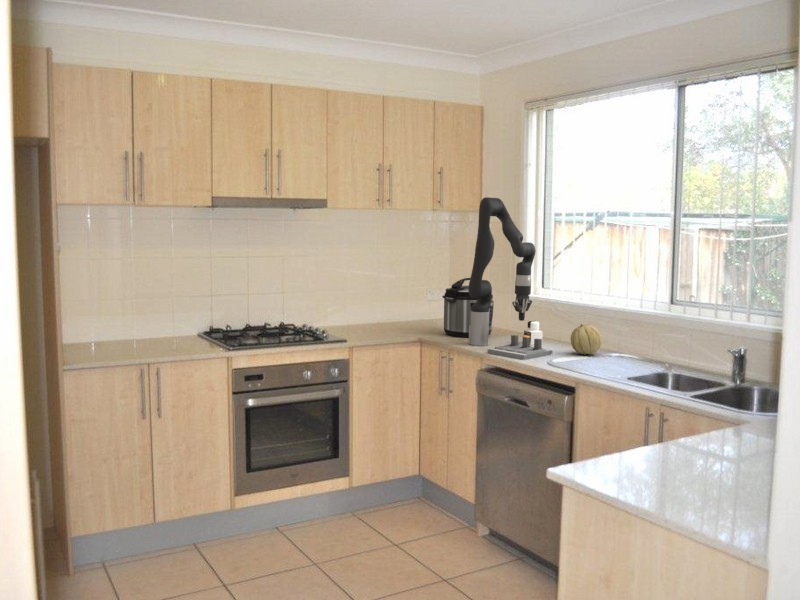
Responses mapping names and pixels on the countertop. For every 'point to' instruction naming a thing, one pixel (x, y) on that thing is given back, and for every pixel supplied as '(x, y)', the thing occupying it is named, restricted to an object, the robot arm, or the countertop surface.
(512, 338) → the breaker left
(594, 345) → the cantaloupe
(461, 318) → the pressure cooker
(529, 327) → the medicine bottle
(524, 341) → the post
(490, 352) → the panel
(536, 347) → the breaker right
